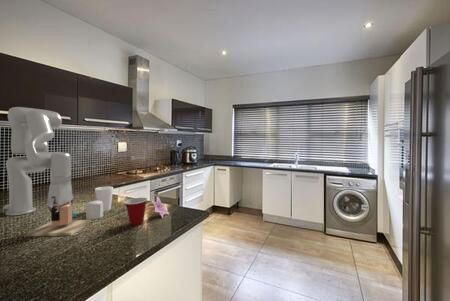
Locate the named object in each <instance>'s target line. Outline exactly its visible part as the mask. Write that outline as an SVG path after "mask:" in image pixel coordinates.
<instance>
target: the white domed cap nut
mask: <svg viewBox="0 0 450 301" xmlns="http://www.w3.org/2000/svg"><path fill="white" fill-rule="evenodd" d="M103 217H104V211H103V203H102V201H97V200H91V201H87V202H86V204H85V220H91V221H93V220H94V221H95V220H98V219H101V218H103Z"/></svg>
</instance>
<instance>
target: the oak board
mask: <svg viewBox="0 0 450 301" xmlns="http://www.w3.org/2000/svg"><path fill="white" fill-rule="evenodd" d="M90 223H92V220H88V219H72V222H70V223H68V224H64V225H57V226H53V225H52V224H51V221H49V222H47V223H45V224H43V225H41V226H38V227H37V228H35V229H33V230H31V231H29V232H26V236H27V237H53V236H54V237H56V236H67V237H68V236H73V235H74V234H76V233H77V232H79V231H80V230H82V229H84V228H85V227H86V226H88V225H89V224H90Z"/></svg>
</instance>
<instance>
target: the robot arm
mask: <svg viewBox="0 0 450 301" xmlns="http://www.w3.org/2000/svg"><path fill="white" fill-rule="evenodd" d="M7 120H8V123H9V125H10V129H11V135H10V136H11V137H10V150H11V152H12V153H13V154H15V155H21V156H13V157H12V156H11V157H9V158H8V159H7V160H6V161H5V168H6V171H7V176H8V197H9V198H8V199H9V200H8V202H9V203H8V204H5V205H4V206H3V207H2V209H3V210H7V211H6V212H5V216H10V217H11V216H12V217H13V216H20V215H25V214H26V215H27V214H31V213H33V212H35V211H37V208H36V207H34V206H33V181H32V178H31V177H30V176H29V175H28V174H30V173H38V172H39V173H40V172H44V171H45V170H46V169H50V184H49V188H48V196H47V205H46V208H47V209H48V210H49V213H50V222H51V221H59V220H60V212H58V211H59V208H60V206H61V205H63V204H66V203H70V204H71V206H72V207H73V204H72V203H73V200H74V195H73V186H72V160H71V157H72V156H71V153H68V152H64V151H63V152H62V151H49V144H48V142H49V141H51V140H52V139H53V138H54V137H55V132H54V130H53V128H54V129H55V128H59V127H61V125H62V123H63V119H62V115H60V113H58V112H56V111H53V110H49V109H48V110H47V109H42V108H41V109H40V108H33V107H24V106H15V107H11V108H9V110H8V112H7ZM22 155H23V156H22ZM24 155H25V156H24ZM55 207H57V208H55Z"/></svg>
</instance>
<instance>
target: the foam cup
mask: <svg viewBox="0 0 450 301" xmlns="http://www.w3.org/2000/svg"><path fill="white" fill-rule="evenodd" d="M94 193H95V198H96V201H102V203H103V212H107V211H109V210H110V211H111V207H112V203H113V202H112V201H113V193H114V187H113V186H99V187H95V188H94Z"/></svg>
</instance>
